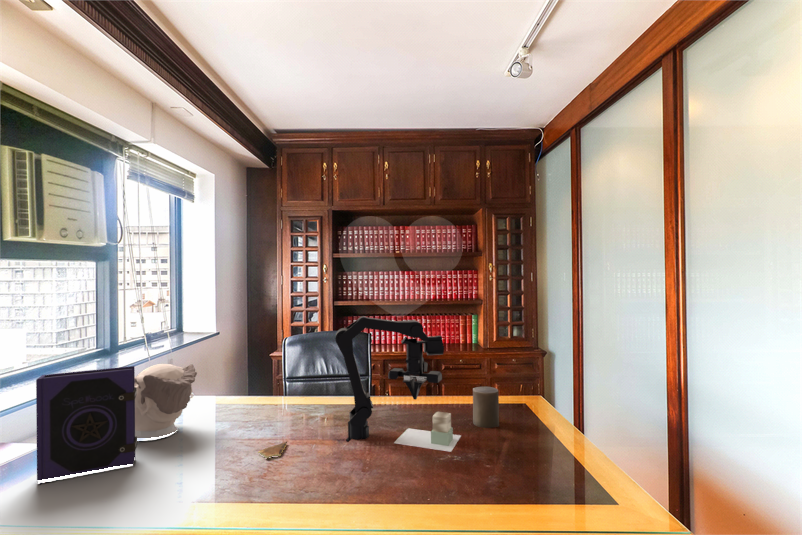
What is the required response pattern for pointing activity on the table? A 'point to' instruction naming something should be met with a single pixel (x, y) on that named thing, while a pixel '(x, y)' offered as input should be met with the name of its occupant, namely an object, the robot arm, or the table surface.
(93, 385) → the book
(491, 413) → the pillar candle
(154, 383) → the bust
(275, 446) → the shard
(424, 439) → the pale grey board
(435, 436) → the green block
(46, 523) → the table surface
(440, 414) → the cream block
